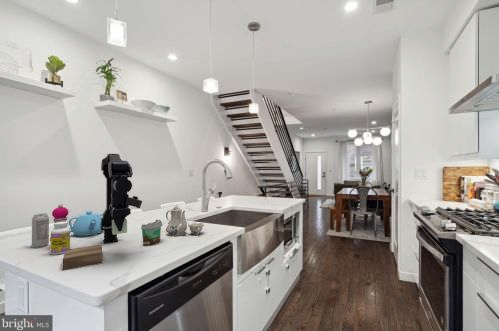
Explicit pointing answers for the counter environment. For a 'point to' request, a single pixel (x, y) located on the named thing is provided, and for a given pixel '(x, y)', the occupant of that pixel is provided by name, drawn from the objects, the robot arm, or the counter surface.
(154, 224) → the food container
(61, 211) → the pepper mill
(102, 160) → the robot arm
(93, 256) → the walnut block
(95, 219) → the teapot
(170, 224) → the chinaware
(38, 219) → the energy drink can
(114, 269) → the counter surface
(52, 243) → the supplement bottle
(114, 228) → the sage cube
